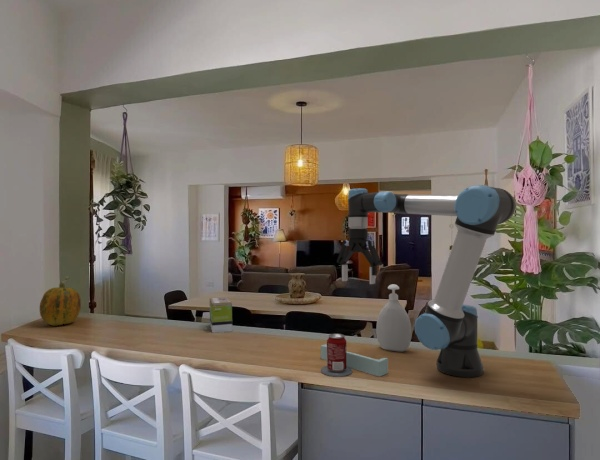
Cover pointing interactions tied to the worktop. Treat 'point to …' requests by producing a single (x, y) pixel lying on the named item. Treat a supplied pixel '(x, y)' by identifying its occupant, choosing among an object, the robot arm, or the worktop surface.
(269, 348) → the worktop surface
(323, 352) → the divider
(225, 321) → the tea box
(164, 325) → the worktop surface
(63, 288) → the pumpkin
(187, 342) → the worktop surface
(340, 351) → the soda can
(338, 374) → the coaster
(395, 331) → the soap bottle
